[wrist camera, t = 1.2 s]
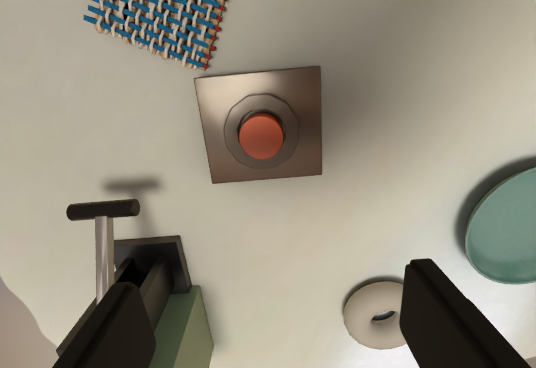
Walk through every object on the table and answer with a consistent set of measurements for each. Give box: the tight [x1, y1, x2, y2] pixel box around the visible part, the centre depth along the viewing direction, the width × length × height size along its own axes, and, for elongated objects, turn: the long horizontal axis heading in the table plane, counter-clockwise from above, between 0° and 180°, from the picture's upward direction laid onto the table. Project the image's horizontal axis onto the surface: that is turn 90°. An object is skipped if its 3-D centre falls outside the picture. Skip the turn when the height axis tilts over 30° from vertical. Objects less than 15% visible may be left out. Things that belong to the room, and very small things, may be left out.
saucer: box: [465, 167, 536, 284], centre depth 31 cm, size 15×15×3 cm
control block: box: [194, 66, 322, 184], centre depth 26 cm, size 10×11×4 cm
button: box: [239, 112, 283, 159], centre depth 24 cm, size 4×4×2 cm
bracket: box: [56, 236, 192, 357], centre depth 29 cm, size 8×8×13 cm
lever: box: [66, 199, 140, 305], centre depth 25 cm, size 14×6×2 cm, turn 6°
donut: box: [344, 281, 406, 350], centre depth 36 cm, size 10×3×10 cm
